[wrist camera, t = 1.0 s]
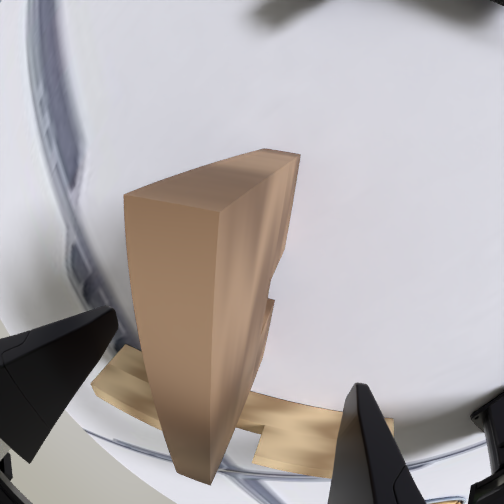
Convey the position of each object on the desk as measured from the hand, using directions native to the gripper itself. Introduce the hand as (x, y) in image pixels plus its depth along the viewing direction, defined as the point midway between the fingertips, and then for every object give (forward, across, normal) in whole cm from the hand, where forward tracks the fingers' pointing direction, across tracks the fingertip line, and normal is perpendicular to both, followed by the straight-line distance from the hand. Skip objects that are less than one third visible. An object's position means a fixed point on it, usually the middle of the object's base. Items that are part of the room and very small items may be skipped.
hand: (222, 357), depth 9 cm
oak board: (+6, -1, +11) cm, 12 cm away
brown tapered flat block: (+6, 0, 0) cm, 6 cm away
